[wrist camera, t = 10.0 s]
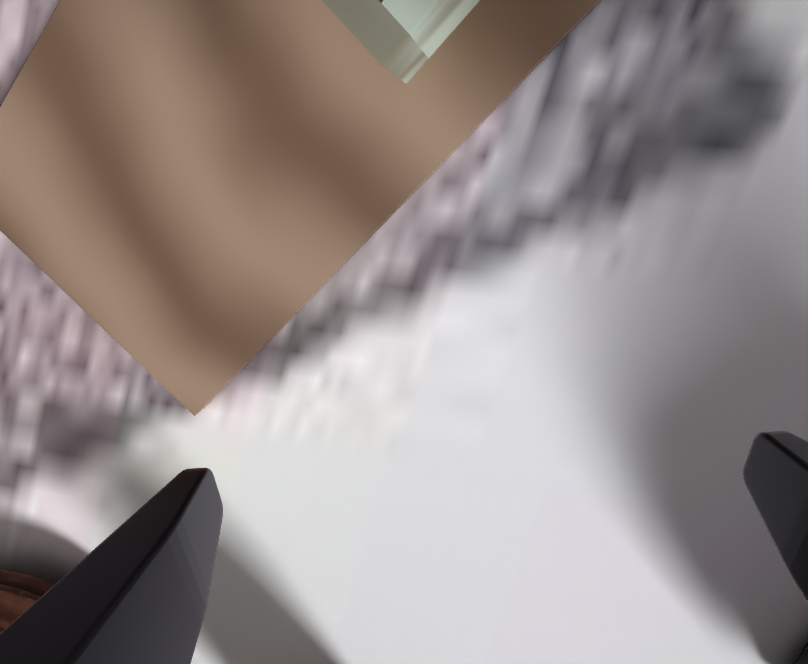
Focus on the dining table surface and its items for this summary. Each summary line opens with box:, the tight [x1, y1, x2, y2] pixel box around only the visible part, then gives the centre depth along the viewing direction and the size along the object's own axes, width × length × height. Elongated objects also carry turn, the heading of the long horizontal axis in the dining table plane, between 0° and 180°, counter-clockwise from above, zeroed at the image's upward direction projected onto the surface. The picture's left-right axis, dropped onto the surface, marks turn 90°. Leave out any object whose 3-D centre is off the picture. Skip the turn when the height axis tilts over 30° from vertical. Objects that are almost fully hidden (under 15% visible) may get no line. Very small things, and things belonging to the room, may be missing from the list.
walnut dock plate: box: [0, 0, 601, 416], centre depth 16 cm, size 25×13×4 cm, turn 135°
